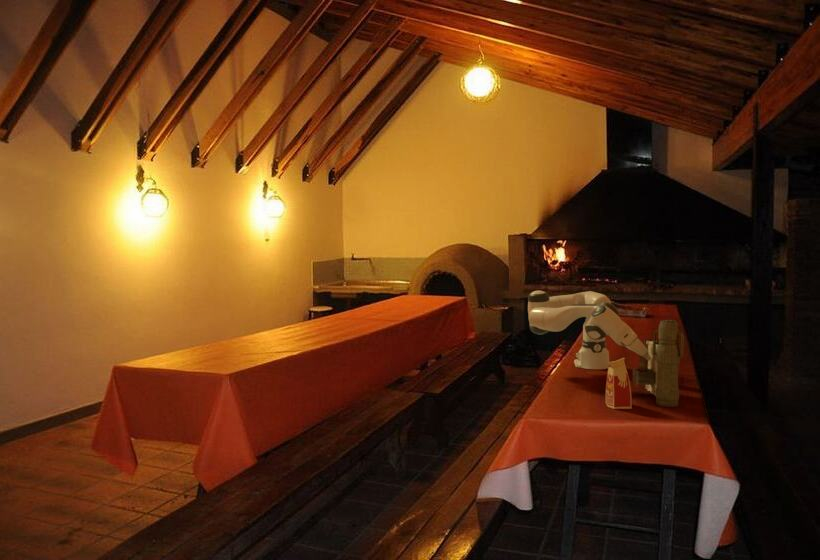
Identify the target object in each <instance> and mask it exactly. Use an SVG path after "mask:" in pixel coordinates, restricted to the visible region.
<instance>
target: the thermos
mask: <svg viewBox="0 0 820 560" xmlns="http://www.w3.org/2000/svg"><path fill="white" fill-rule="evenodd" d="M657 334H658V336H657ZM652 337H653V355H656V357H657V358H656V361H657V363H658V372H657V388H656V396H655V399H656V400H655V404H656V405H657V406H660V407H667V408H675V407H679V400H680V390H679V364H680V362H681V361H680V360H681V359H682V358H683V357H684V350H685V349H684V346H685V335H684V334H683V332H680V331H679V324H678V321H677V320H675V319H669V318H668V319H666V318H665V319H662V320H660V323H659V324H658V330H655V331H654V332H653V333H652ZM657 337H658V339H657ZM679 337H680V346H679ZM656 340H659V342H658V347H657V352H656ZM655 352H656V353H655Z"/></svg>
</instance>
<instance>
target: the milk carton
mask: <svg viewBox="0 0 820 560" xmlns="http://www.w3.org/2000/svg"><path fill="white" fill-rule="evenodd" d="M625 359H626V358H625V357H622V358H619V359H617V360H615V361H614V360H612V361H609V362H607V363H608V364H609V367H608V368H607V373H606V374H607V375H606V382H605V383H606V385H605V404H606V406H607V407H608V408H611V409H614V410H620V409H623V410H625V409H627V410H629V409H631V410H632V401H633V399H632V387H631V382H630V376H629V374H628V370H627V366H626V363H625Z"/></svg>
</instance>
